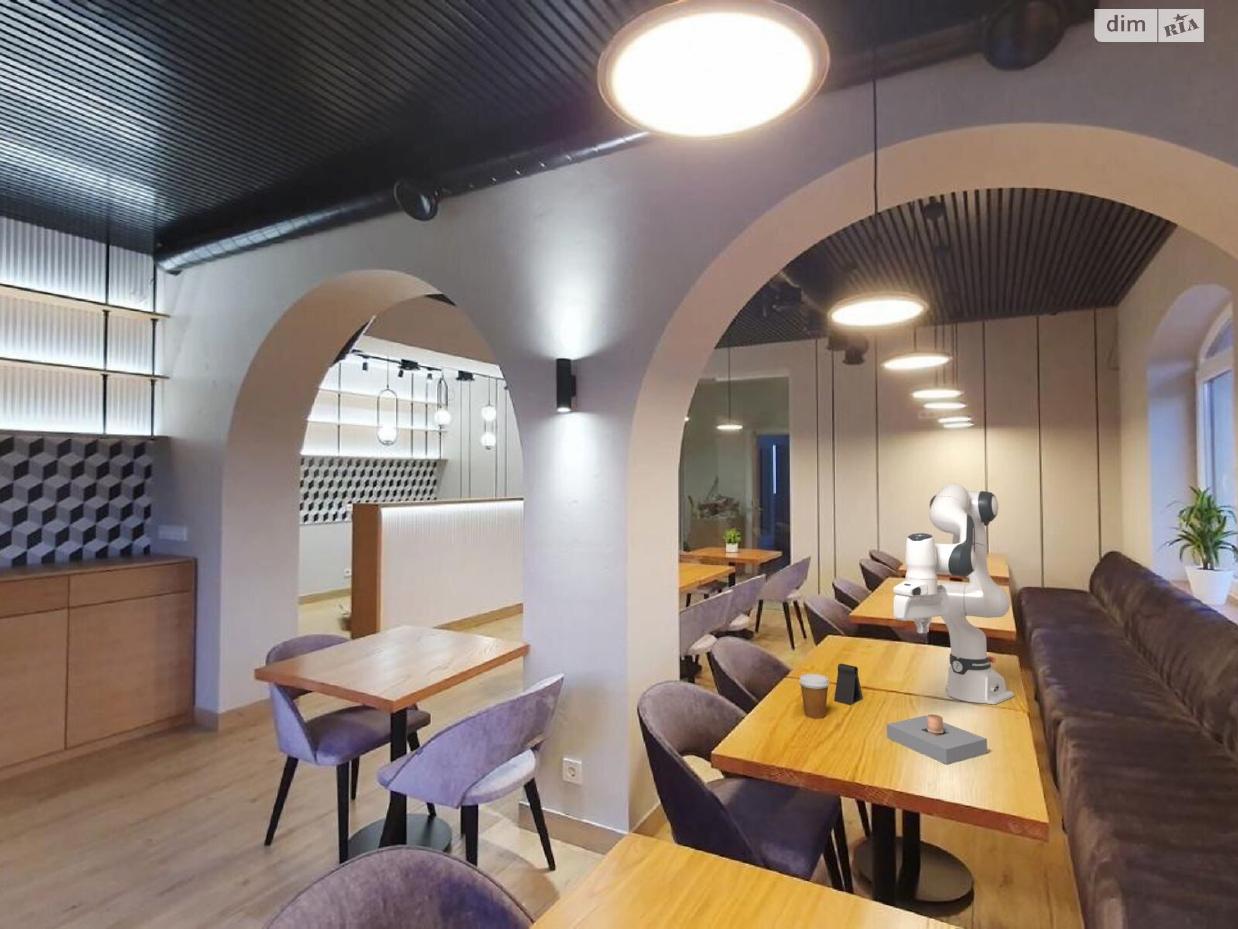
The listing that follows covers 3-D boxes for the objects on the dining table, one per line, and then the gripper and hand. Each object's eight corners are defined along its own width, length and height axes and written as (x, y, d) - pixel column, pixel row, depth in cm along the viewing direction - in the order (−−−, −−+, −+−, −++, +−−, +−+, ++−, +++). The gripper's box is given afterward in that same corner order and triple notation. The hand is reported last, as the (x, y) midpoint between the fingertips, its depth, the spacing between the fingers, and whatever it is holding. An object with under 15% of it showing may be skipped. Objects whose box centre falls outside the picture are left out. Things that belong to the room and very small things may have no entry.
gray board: (926, 728, 194) (925, 715, 194) (987, 753, 176) (986, 738, 176) (887, 738, 188) (886, 724, 188) (946, 764, 169) (946, 749, 170)
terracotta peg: (934, 741, 185) (934, 713, 185) (947, 746, 181) (946, 718, 181) (924, 744, 183) (923, 715, 183) (936, 749, 179) (935, 720, 180)
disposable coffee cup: (826, 722, 201) (825, 684, 201) (796, 717, 206) (795, 679, 206) (833, 713, 209) (832, 676, 209) (804, 708, 214) (803, 672, 214)
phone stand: (850, 705, 215) (849, 669, 216) (834, 701, 220) (833, 666, 220) (863, 699, 222) (862, 664, 222) (846, 695, 226) (845, 661, 226)
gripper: (936, 583, 203) (938, 627, 202) (889, 588, 194) (890, 634, 194) (954, 585, 197) (955, 631, 196) (905, 591, 189) (907, 638, 188)
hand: (923, 632), depth 195 cm, fingers closed
